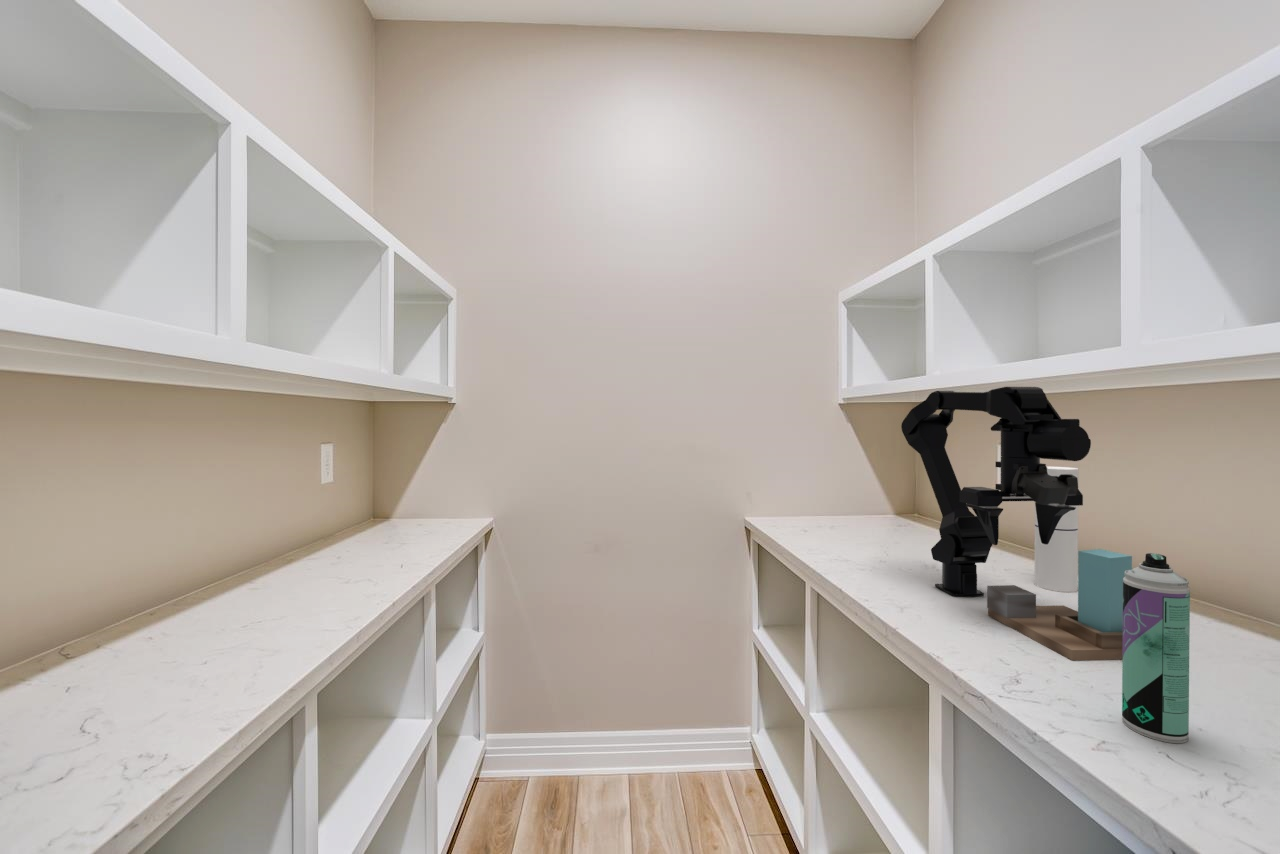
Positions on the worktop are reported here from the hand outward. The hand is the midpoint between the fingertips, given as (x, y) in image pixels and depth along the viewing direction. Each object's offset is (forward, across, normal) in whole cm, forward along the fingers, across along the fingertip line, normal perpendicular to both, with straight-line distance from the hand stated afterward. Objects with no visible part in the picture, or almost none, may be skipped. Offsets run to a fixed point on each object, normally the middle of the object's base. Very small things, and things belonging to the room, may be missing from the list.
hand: (1019, 544), depth 95 cm
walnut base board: (+13, +2, -8) cm, 15 cm away
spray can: (+13, -10, -34) cm, 38 cm away
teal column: (+12, +4, -12) cm, 17 cm away
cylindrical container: (+13, +20, +16) cm, 29 cm away
